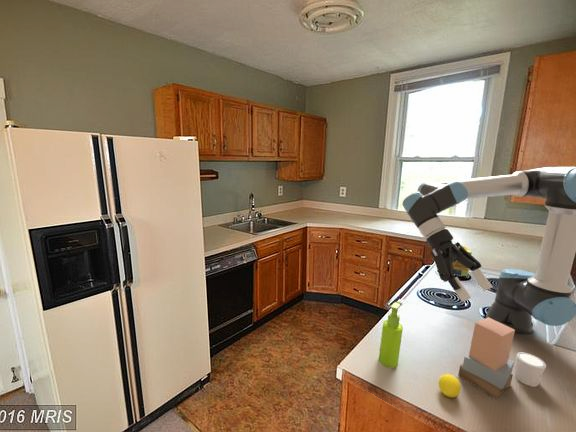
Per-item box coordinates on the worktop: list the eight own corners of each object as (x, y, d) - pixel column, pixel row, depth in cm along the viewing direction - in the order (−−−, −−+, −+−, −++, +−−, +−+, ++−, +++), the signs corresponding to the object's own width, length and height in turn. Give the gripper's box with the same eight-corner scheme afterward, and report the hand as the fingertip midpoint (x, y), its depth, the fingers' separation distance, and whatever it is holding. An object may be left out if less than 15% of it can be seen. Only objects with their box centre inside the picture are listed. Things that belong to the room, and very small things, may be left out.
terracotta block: (481, 348, 87) (488, 317, 85) (507, 363, 81) (515, 329, 79) (468, 355, 84) (475, 322, 81) (494, 371, 77) (502, 336, 75)
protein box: (447, 274, 164) (451, 249, 161) (442, 265, 178) (446, 242, 175) (467, 277, 161) (472, 252, 158) (460, 268, 175) (464, 244, 172)
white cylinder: (527, 371, 88) (531, 351, 87) (547, 388, 82) (553, 368, 80) (506, 370, 88) (510, 351, 87) (525, 388, 81) (530, 367, 80)
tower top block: (473, 354, 90) (475, 343, 89) (511, 372, 83) (514, 361, 82) (462, 368, 84) (464, 356, 83) (502, 389, 76) (505, 377, 75)
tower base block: (473, 364, 91) (476, 354, 90) (510, 386, 83) (512, 374, 82) (458, 376, 86) (460, 365, 85) (495, 400, 77) (497, 388, 77)
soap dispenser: (401, 359, 91) (409, 304, 87) (393, 370, 86) (401, 312, 82) (384, 350, 95) (391, 297, 91) (375, 361, 90) (382, 305, 86)
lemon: (457, 407, 75) (460, 392, 73) (435, 396, 78) (437, 381, 76) (461, 388, 80) (463, 374, 78) (440, 378, 83) (442, 364, 82)
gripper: (446, 235, 101) (485, 289, 92) (404, 244, 88) (445, 309, 79) (464, 224, 96) (507, 280, 87) (422, 232, 83) (468, 300, 73)
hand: (478, 294), depth 83 cm, fingers open, 13 cm apart
